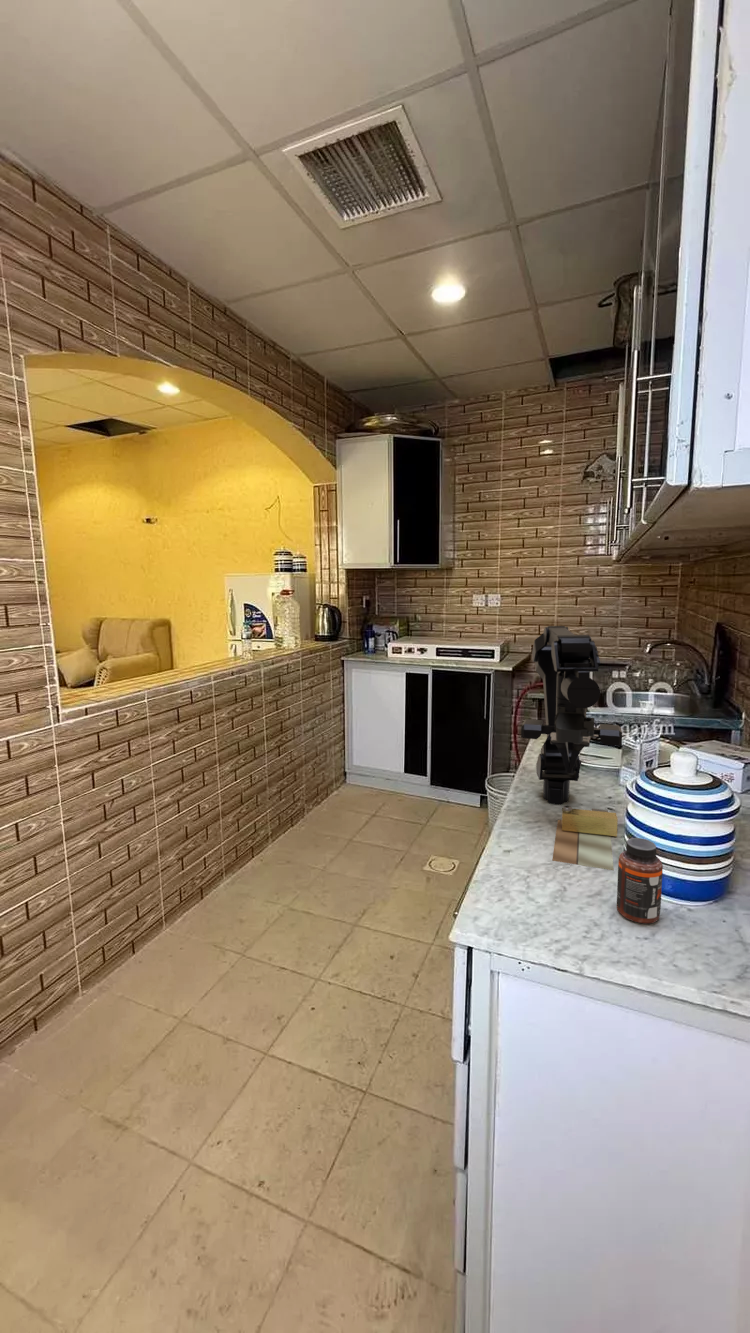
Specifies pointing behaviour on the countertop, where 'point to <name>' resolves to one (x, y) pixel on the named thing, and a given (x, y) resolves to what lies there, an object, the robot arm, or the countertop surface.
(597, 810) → the stop block
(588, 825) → the latch bar
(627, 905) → the supplement bottle
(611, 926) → the countertop surface
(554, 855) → the door board
